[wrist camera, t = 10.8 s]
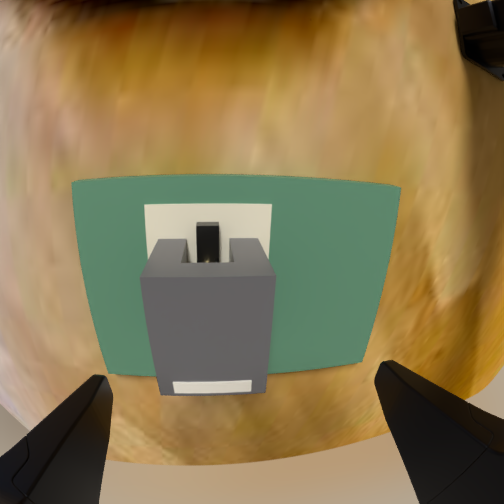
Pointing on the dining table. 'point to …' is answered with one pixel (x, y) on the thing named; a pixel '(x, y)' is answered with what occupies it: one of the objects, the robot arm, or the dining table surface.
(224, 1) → the dining table surface
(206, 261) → the header pins
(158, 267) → the block
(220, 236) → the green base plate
